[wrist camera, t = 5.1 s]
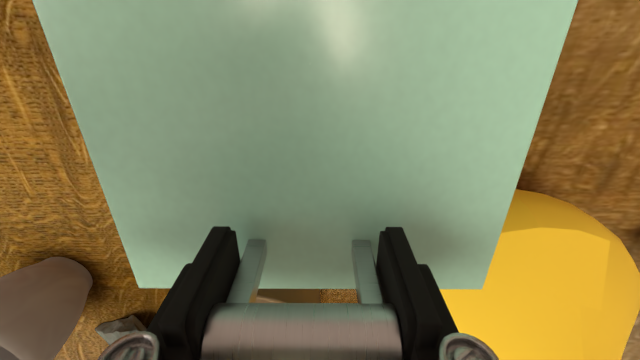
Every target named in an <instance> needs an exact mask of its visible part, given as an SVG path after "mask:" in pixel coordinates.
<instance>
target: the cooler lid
mask: <svg viewBox="0 0 640 360" xmlns="http://www.w3.org/2000/svg"><path fill="white" fill-rule="evenodd" d="M32 1H33V4H34V7H35V9H36V12H37V15H38V17H39V20H40V23H41V25H42V28H43V31H44V34H45V36H46V39H47V42H48V44H49V47H50V50H51V52H52V55H53V58H54V60H55V63H56V66H57V69H58V71H59V74H60V77H61V79H62V82H63V85H64V87H65V90H66V93H67V95H68V98H69V101H70V104H71V106H72V109H73V112H74V114H75V117H76V120H77V122H78V125H79V128H80V130H81V133H82V136H83V139H84V141H85V144H86V147H87V149H88V152H89V155H90V157H91V160H92V163H93V165H94V168H95V171H96V174H97V176H98V179H99V182H100V184H101V187H102V190H103V192H104V195H105V198H106V200H107V203H108V206H109V209H110V211H111V214H112V217H113V219H114V222H115V225H116V227H117V230H118V233H119V235H120V238H121V241H122V244H123V246H124V249H125V252H126V254H127V257H128V260H129V262H130V265H131V268H132V271H133V273H134V276H135V279H136V281H137V284H138V287H139V288H171V287H172V286H173V284H174V282H175V281H176V279H177V277H178V276H179V274H180V272H181V270H182V269H183V267H184V266H185V265H186V264H188V263H192V262H193V260H194V259H195V257H196V255H197V253H198V252H199V250H200V248H201V246H202V245H203V243H204V241H205V239H206V237H207V236H208V234H209V232H210V230H211V229H212V227H214V226H229V227H230V228H231V230H234V231H235V232H236V236H237V243H238V249H239V255H240V264H239V267H238V270H237V272H236V275H235V278H234V281H233V284H232V286H231V289H230V292H229V295H228V298H227V301H226V303H217V304H215V305H214V306H213V307H212V308H211V310H210V312H209V314H208V316H207V319H206V321H205V324H204V328H203V332H202V337H201V343H200V360H404V346H403V336H402V330H401V324H400V320H399V316H398V313H397V311H396V309H395V307H394V305H392V304H385V303H384V299H383V294H382V290H381V286H380V281H379V277H378V273H377V268H376V262H377V253H378V244H379V235H380V231H385V228H386V227H402V228H403V230H404V232H405V235H406V237H407V240H408V242H409V244H410V247H411V249H412V252H413V254H414V257H415V259H416V261H417V264H427V265H428V266H429V268H430V270H431V272H432V274H433V276H434V279H435V281H436V283H437V285H438V287H439V289H482V288H483V285H484V282H485V279H486V276H487V273H488V270H489V267H490V264H491V261H492V258H493V255H494V252H495V249H496V246H497V243H498V240H499V237H500V234H501V231H502V228H503V225H504V222H505V219H506V216H507V213H508V210H509V207H510V204H511V201H512V198H513V195H514V192H515V189H516V186H517V183H518V180H519V177H520V174H521V171H522V168H523V165H524V162H525V159H526V156H527V153H528V150H529V147H530V144H531V141H532V138H533V135H534V132H535V129H536V126H537V123H538V120H539V117H540V114H541V111H542V108H543V105H544V102H545V99H546V96H547V93H548V90H549V87H550V84H551V81H552V78H553V74H554V71H555V68H556V65H557V62H558V59H559V56H560V53H561V50H562V47H563V44H564V41H565V38H566V35H567V32H568V29H569V26H570V23H571V20H572V17H573V14H574V11H575V8H576V5H577V2H578V0H32ZM258 289H356V292H357V299H358V303H255V300H256V296H257V292H258Z"/></svg>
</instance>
